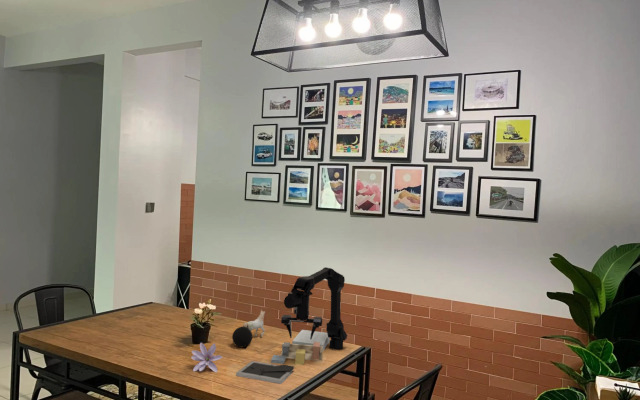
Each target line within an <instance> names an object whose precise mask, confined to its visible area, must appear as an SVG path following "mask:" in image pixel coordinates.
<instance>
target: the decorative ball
mask: <svg viewBox="0 0 640 400" xmlns="http://www.w3.org/2000/svg"><path fill="white" fill-rule="evenodd" d="M231 339H232V343H233V344H234V345H235V346H237V347H238V348H245V347H248V346H249V345H250V344H251V343H252V341H253V332H252V330H251V331H250V329H248V328H247V327H243V326H239V327H237V328H236V329H234V331H233V333H232V338H231Z"/></svg>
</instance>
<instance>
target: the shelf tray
mask: <svg viewBox="0 0 640 400" xmlns="http://www.w3.org/2000/svg"><path fill="white" fill-rule="evenodd" d="M283 344H284V342H283V343H282V344H281V353H280V355H281V356H282V350H283ZM297 349H305V360H306V361H319V362H322V361H323V353H324V351H323V346H320V351H319V359H312V358H313V345H301V344H292V343H290V353H289V357H286V360H287V359H290V360H295V359H296V350H297Z"/></svg>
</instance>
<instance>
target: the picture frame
mask: <svg viewBox="0 0 640 400" xmlns="http://www.w3.org/2000/svg"><path fill="white" fill-rule="evenodd" d="M293 373H295V366H293V365H288V364H280V365H278V364H274V363H266V362H260V361H254V360H251V361H250V362H249V363H247V364H245V365H244V366H243V367H242V368H241V369H239V370H238V371H236V373H235V376H236V377H241V378H245V379H246V378H247V379H252V380H257V381H262V382H268V383H274V384H279V385H283V383H284V382H285V381H286V380H287V379H288V378H289V377H290V376H291V375H292V374H293Z"/></svg>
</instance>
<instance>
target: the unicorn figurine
mask: <svg viewBox="0 0 640 400" xmlns="http://www.w3.org/2000/svg"><path fill="white" fill-rule="evenodd" d="M265 313H266V311H263V310H262V308H261V309H260V314H259V315H258V316H257V318H256V319H254V320H250V321H247V322H246V321H245V322H243V324H242V327H247V328H248V329H250V331H251V332H252V330H255V333H254V335H253V337H254V338H258V337H260V339H262V338H263V336H264V335H265V331H266V330H265V328H264V317H265ZM259 329H261V330H262V332H260V336H258V330H259Z"/></svg>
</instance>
